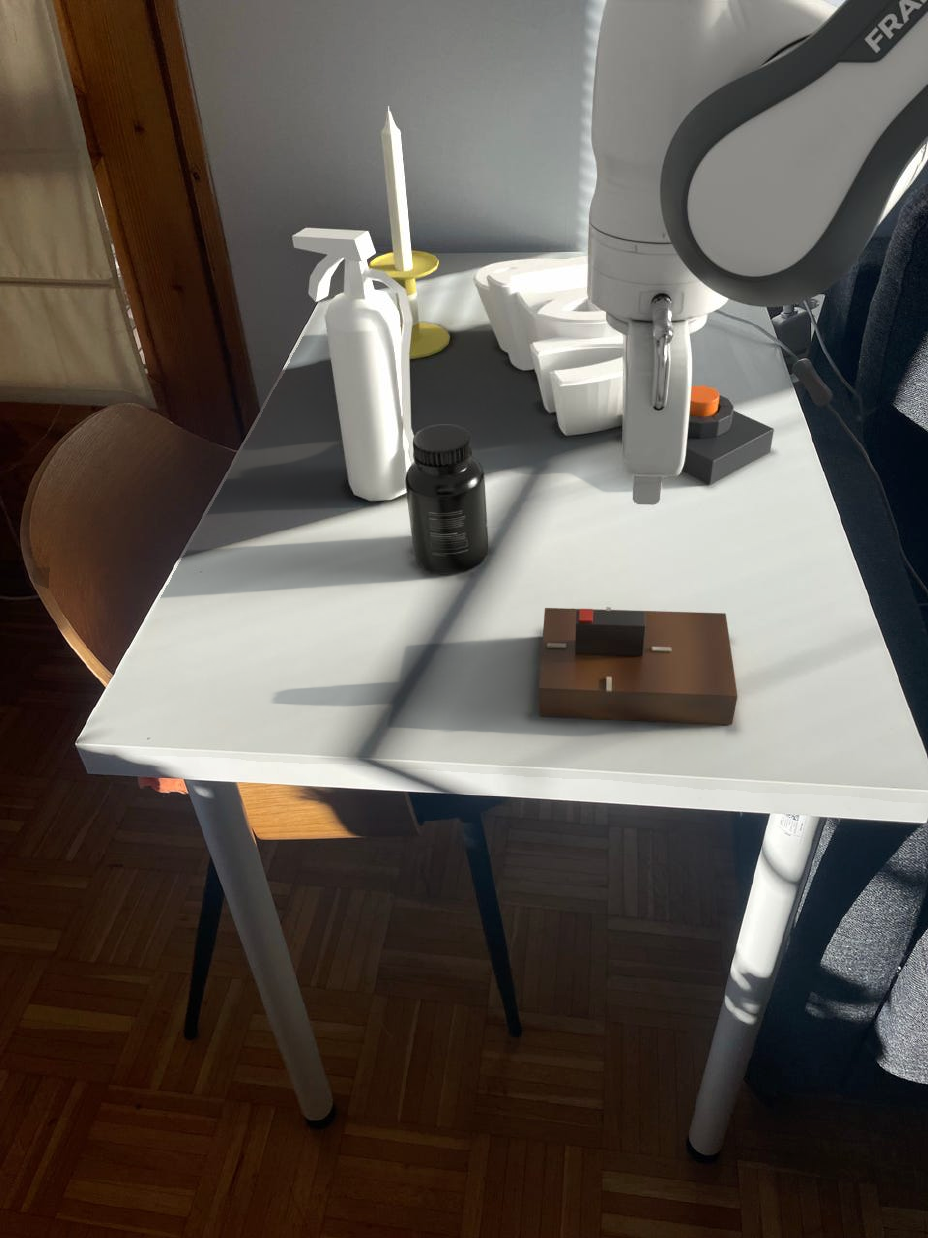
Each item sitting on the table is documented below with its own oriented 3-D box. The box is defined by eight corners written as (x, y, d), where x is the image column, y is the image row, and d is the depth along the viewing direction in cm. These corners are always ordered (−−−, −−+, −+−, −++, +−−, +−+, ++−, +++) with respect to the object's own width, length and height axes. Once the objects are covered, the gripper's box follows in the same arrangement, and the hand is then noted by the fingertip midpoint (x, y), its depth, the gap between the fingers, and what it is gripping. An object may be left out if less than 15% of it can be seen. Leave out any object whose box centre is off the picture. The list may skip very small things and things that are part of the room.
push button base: (770, 452, 97) (777, 412, 94) (709, 485, 93) (715, 444, 90) (681, 409, 104) (685, 371, 101) (621, 438, 100) (624, 399, 97)
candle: (372, 362, 117) (341, 121, 99) (370, 328, 125) (341, 98, 107) (453, 354, 117) (437, 113, 100) (446, 321, 125) (430, 91, 107)
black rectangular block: (642, 641, 72) (645, 609, 70) (642, 656, 71) (645, 623, 69) (575, 639, 73) (576, 607, 71) (575, 653, 72) (575, 621, 69)
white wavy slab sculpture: (697, 439, 99) (708, 343, 92) (544, 465, 97) (544, 368, 90) (591, 308, 125) (594, 226, 118) (468, 326, 123) (464, 243, 116)
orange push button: (725, 409, 96) (727, 394, 94) (700, 422, 94) (702, 406, 93) (697, 397, 98) (699, 381, 97) (673, 409, 96) (674, 393, 95)
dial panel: (721, 640, 76) (725, 610, 74) (732, 726, 69) (738, 695, 67) (544, 634, 78) (544, 605, 76) (539, 717, 71) (538, 687, 69)
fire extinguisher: (420, 520, 91) (393, 257, 75) (320, 488, 96) (275, 235, 80) (457, 485, 95) (440, 229, 79) (360, 456, 100) (325, 210, 84)
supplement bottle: (502, 544, 87) (498, 428, 80) (463, 586, 83) (454, 467, 75) (440, 524, 90) (430, 410, 83) (398, 563, 86) (384, 447, 78)
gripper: (726, 340, 50) (698, 550, 59) (702, 209, 66) (683, 393, 75) (605, 340, 51) (596, 547, 60) (609, 211, 66) (602, 392, 75)
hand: (644, 461), depth 68 cm, fingers open, 8 cm apart
